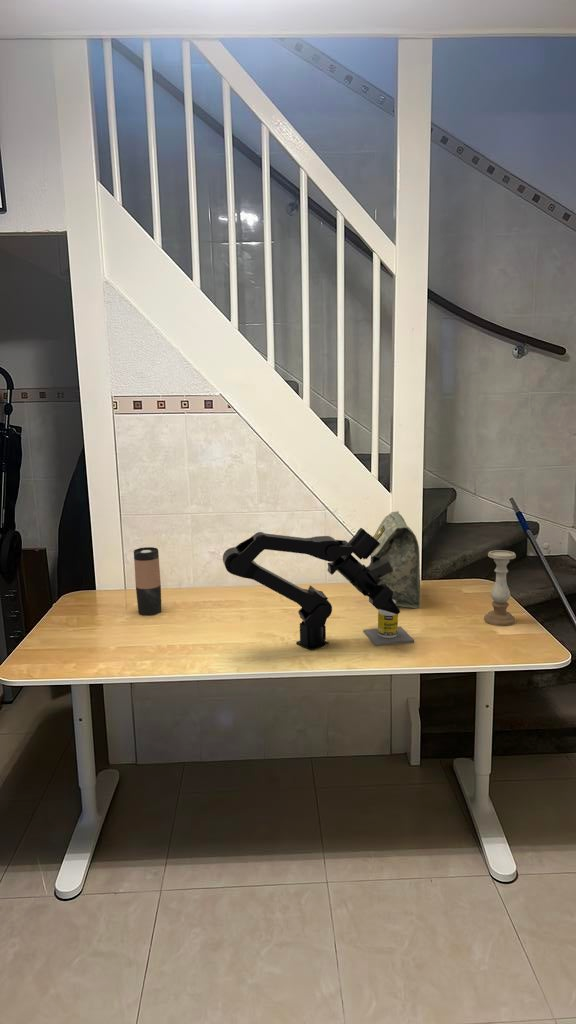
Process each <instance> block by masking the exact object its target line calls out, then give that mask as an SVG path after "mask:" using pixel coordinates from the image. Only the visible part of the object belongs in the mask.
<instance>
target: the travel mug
mask: <svg viewBox="0 0 576 1024" xmlns="http://www.w3.org/2000/svg"><path fill="white" fill-rule="evenodd" d="M159 556H160V555H159V548H157V547H154V546H153V547H152V546H151V547H150V546H148V547H147V546H146V547H139V548H135V549H134V550H133V561H134V577H135V578H134V580H135V592H136V600H137V601H136V603H137V610H138V614H139V615H141V616H144V617H145V616H146V617H147V616H155V615H158V614H160V613H162V585H161V584H162V583H161V570H160V569H161V568H160V558H159Z"/></svg>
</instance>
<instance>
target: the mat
mask: <svg viewBox="0 0 576 1024" xmlns="http://www.w3.org/2000/svg"><path fill="white" fill-rule="evenodd" d="M363 633H364V635H366V636H367V638H368V640H370V641H371V643H372V644H373V645H374V646H375V647H380V646H392V645H399V644H411V643H415V639H414V638H413V637H412V636H411V635H410V634H409V633H408V632H407V631H406V630H405V629H404V628H403V627H401V626H400V625H398V633H397V636H396V637H393V638H384V637H381V636H379V635H378V627H377V628H370V629H363Z"/></svg>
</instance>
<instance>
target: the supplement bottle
mask: <svg viewBox="0 0 576 1024" xmlns="http://www.w3.org/2000/svg"><path fill="white" fill-rule="evenodd" d="M392 600H393V599H392ZM393 601H394V603H395V604H396V601H395V600H393ZM377 610H378V612H377V621H378V622H377V628H378V635H379V636H381V637H384V638H393V637H396V636H397V633H398V627H399V625H398V623H399V622H398V621H399V614H394V613H391V612H388V611H384V610H381V609H377Z"/></svg>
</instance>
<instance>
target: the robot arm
mask: <svg viewBox="0 0 576 1024" xmlns="http://www.w3.org/2000/svg"><path fill="white" fill-rule="evenodd" d="M379 545H380V543H379V542H378V541H377V540H376V539H375V538H374V537H373V536H372V535H371V534H370V533H369V532H367V531H366V530H365V529H364V528H362V527H360V528H359V529H358V530H357V532H356V533H355V534H354V536H353V537H352V538H351V539H349V541H347V540H344V539H343V540H341V539H335V538H334V537H332V536H330V535H320V536H318V535H317V536H311V537H305V538H304V537H301V536H300V537H298V536H291V535H282V534H273V533H265V532H262V531H258V532H256V533H254V534H253V535H252V536H251V537H249V538H247V539H245V540H244V541H241V542H240V543H238V544H237V545H236V546H233V547H229V548H227V549H226V550H225V551H224V552H223V554H222V562H223V565H224V567H225V569H226V571H227V572H228V573H229V574H230V575H233V576H237V577H240V578H242V579H243V578H244V579H248V580H253V581H255V582H257V583H259V584H260V585H262V586H265V587H266V588H268V589H270V590H272V591H274V592H276V593H277V594H279V595H281V596H283V597H285V598H286V599H289V600H290V601H292V602H294V603H296V604H297V605H299V606H300V607H301V608H300V609H299V610H298V611H297V612H298V615H299V618H300V619H301V622H299V640H298V641H296V644H297V645H299V646H301V647H302V648H305V649H307V650H310V651H311V650H313V651H314V650H316V649H319V648H322V647H324V646H327V645H330V643H329V641H326V639H327V636H326V635H327V634H326V623H327V620H328V618H329V617H331V616H332V612H333V605H332V604H331V602H330V601H329V600H328V599H329V598H328V597H327V595H325V593H324V591H322V590H318V589H316V587H315V588H314V586H312V585H309V587H308V589H305V588H302V587H300V586H298V585H296V584H294V583H292V582H290V581H289V580H287V579H285V578H283V577H282V576H280V575H278V574H276V573H274V572H272V571H271V570H269V569H267V568H265V567H263V566H262V565H260V564H258V563H257V562H256V561H254V560H255V559H256V558H257V557H258V556H260V554H261V553H262V552H263V551H264V550H267V551H277V552H284V553H293V554H301V555H303V554H304V555H308V556H310V557H311V556H312V557H314V558H316V559H319V560H322V561H326V562H327V572H328V573H329V574H330V575H334V574H335V573H336V571H337V572H338V573H340V575H342V576H343V578H345V579H346V581H348V582H349V583H350V584H351V585H352V586H353V587H354V588H355V589H356V590H357V591H358V592H359V593H361V594H362V595H363V596H364V597H367V598H368V602H369V604H371V605H372V606H373V607H374V608H375V609H376V610H379V609H381V610H384V611H388V612H391V613H394V614H398V615H399V614H400V613H401V610H400V609H399V607H398V606H396V604H395V603H394V601H393V600H392V596H393V591H392V590H391V589H390V588H389V587H388V586H386V585H385V584H380V585H378V583H379V582H380V581H381V580H380V579H379V578H380V577H382V576H384V575H386V574H388V573H391V572H393V568H392V566H391V564H390V562H389V560H388V559H386V558H385V557H381V559H380V558H378V557H377V556H376V555H374V556H373V557H371V556H370V555H371V554H372V553H373V552H374V551H375V549H376V548H377V547H378V546H379ZM353 554H354V555H355V557H354V556H353ZM356 557H357V558H358V559H359V560H360V561H361V560H368V558H369V557H370V563H369V565H368V566H366V565H365V564H362V563H361V562H360V561H359V560H358V559H357V558H356Z"/></svg>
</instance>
